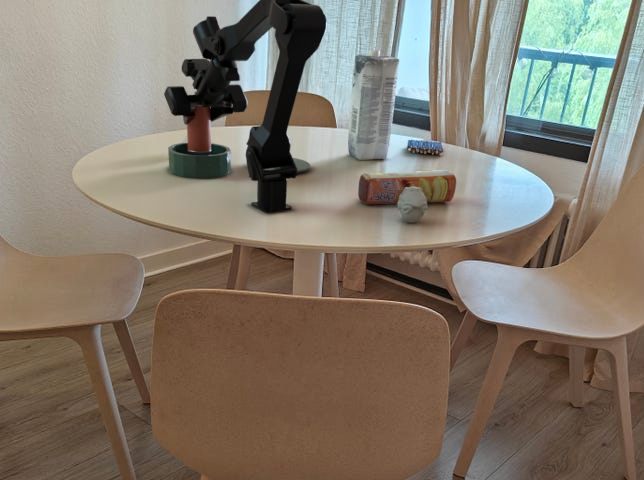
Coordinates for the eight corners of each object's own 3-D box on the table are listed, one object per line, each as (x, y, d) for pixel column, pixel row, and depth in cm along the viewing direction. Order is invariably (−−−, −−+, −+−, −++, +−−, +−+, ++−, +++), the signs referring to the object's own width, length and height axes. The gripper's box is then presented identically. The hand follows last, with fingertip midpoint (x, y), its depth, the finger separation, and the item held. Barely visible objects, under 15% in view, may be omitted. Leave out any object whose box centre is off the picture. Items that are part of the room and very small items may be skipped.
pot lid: (322, 172, 163) (324, 147, 160) (269, 178, 155) (270, 152, 152) (288, 158, 174) (289, 134, 171) (237, 163, 166) (237, 139, 163)
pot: (241, 174, 157) (241, 153, 154) (185, 181, 149) (184, 158, 147) (212, 161, 167) (212, 140, 164) (159, 166, 159) (158, 144, 157)
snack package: (365, 207, 139) (368, 176, 135) (355, 198, 144) (358, 168, 141) (454, 204, 144) (459, 174, 141) (441, 196, 150) (446, 167, 146)
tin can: (211, 154, 153) (209, 98, 147) (186, 153, 153) (184, 97, 147) (212, 149, 158) (210, 95, 152) (188, 148, 158) (186, 94, 152)
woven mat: (443, 155, 186) (444, 148, 185) (406, 152, 188) (407, 145, 187) (442, 148, 195) (443, 141, 194) (407, 145, 197) (407, 138, 196)
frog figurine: (419, 216, 135) (424, 183, 132) (429, 227, 129) (435, 192, 126) (391, 216, 134) (395, 182, 131) (400, 227, 128) (405, 192, 125)
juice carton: (391, 159, 179) (404, 53, 166) (357, 161, 176) (367, 52, 162) (376, 152, 186) (387, 49, 173) (343, 153, 183) (352, 48, 169)
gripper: (241, 46, 146) (219, 91, 159) (165, 46, 137) (148, 94, 150) (259, 88, 145) (235, 130, 158) (182, 91, 135) (164, 136, 148)
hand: (196, 122), depth 153 cm, fingers closed on tin can, 5 cm apart
